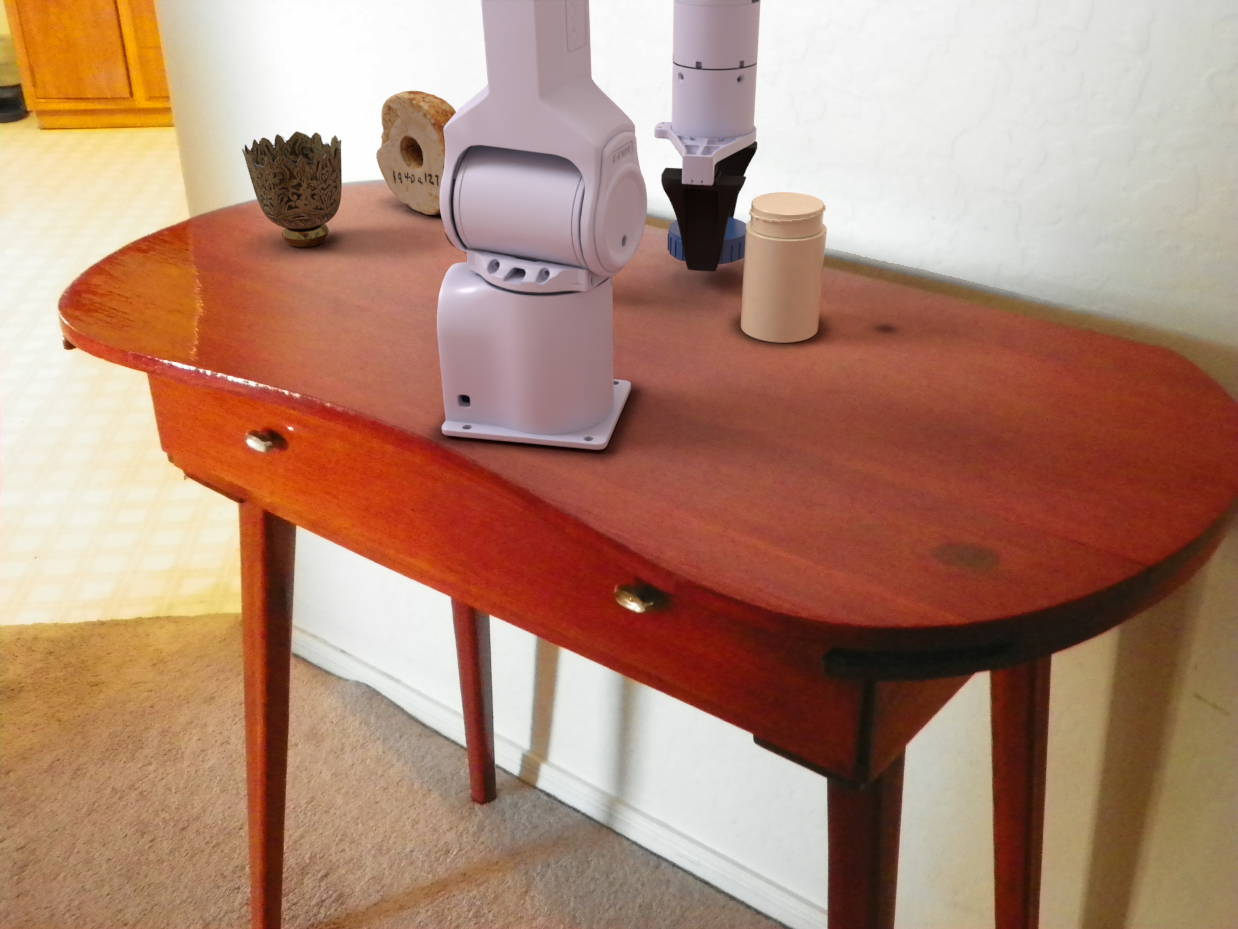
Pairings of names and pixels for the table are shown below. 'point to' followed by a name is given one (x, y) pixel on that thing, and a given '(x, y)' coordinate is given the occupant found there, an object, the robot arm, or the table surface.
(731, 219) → the lid
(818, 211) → the jar
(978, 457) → the table surface
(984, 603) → the table surface
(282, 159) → the cup
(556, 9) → the robot arm
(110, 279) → the table surface
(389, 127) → the stone disc
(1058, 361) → the table surface
